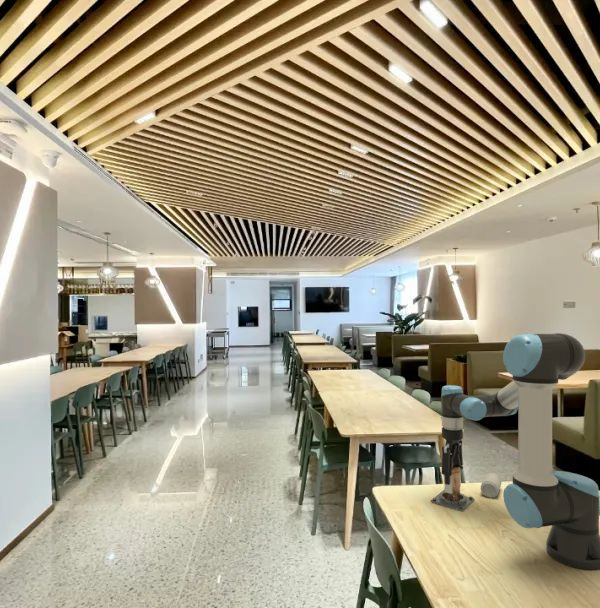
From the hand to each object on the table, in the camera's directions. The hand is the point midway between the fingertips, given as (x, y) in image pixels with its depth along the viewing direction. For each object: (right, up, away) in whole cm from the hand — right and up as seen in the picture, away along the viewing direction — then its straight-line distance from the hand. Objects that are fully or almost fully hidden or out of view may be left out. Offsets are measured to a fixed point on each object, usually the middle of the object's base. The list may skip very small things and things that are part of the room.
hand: (452, 489), depth 172 cm
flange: (0, -5, 0) cm, 5 cm away
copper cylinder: (0, -4, 0) cm, 4 cm away
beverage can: (+15, -1, +2) cm, 15 cm away
